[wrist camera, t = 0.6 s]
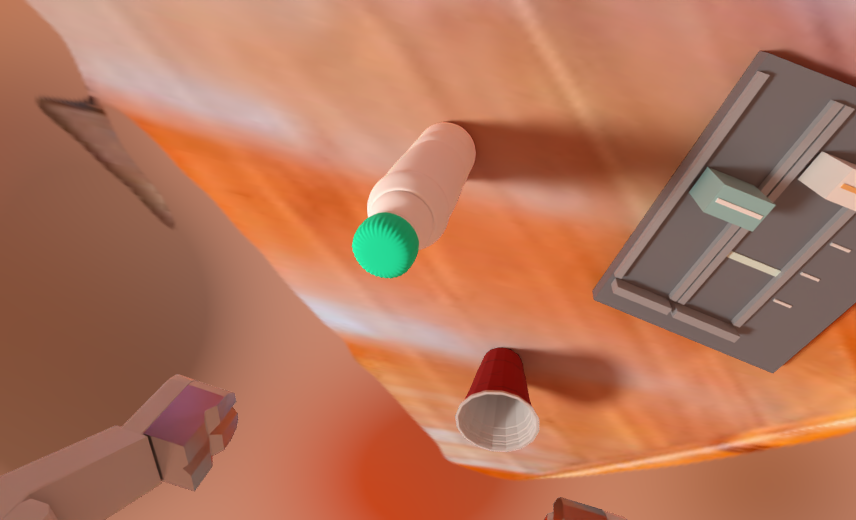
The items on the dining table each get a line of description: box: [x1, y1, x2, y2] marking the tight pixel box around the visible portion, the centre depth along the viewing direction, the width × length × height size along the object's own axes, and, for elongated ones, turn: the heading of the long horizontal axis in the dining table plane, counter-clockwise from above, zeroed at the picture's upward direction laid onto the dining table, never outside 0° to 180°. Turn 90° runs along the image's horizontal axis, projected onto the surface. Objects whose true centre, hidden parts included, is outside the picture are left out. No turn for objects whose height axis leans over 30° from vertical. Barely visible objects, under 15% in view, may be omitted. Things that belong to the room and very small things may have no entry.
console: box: [593, 51, 856, 373], centre depth 47 cm, size 30×24×4 cm
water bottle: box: [352, 122, 476, 278], centre depth 41 cm, size 7×7×25 cm
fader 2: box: [798, 151, 856, 211], centre depth 40 cm, size 3×5×5 cm, turn 71°
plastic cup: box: [455, 348, 539, 452], centre depth 61 cm, size 11×11×12 cm
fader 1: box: [689, 167, 776, 232], centre depth 43 cm, size 3×5×5 cm, turn 71°
